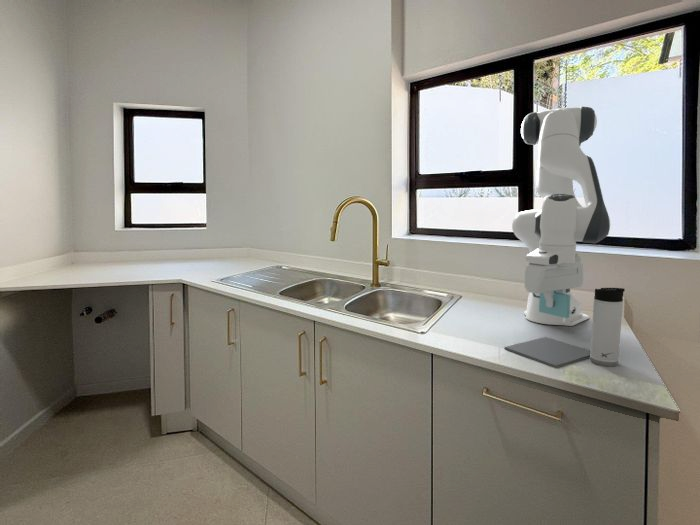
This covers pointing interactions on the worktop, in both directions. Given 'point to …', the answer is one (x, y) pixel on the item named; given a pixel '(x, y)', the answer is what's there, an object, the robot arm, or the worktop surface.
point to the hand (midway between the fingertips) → (553, 306)
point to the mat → (550, 351)
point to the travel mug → (606, 326)
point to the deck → (556, 305)
